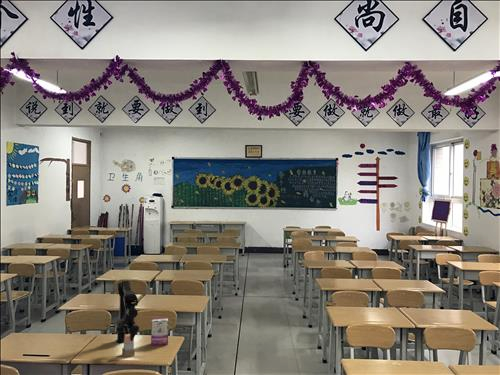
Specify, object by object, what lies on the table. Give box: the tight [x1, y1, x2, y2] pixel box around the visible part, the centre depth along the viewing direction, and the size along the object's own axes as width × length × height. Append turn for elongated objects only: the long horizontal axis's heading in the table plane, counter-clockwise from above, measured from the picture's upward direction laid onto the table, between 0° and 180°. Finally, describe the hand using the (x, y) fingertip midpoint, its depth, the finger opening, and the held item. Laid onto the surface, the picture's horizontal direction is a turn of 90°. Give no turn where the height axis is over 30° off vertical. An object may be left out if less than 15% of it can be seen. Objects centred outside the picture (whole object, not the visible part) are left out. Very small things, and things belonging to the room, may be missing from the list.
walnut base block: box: [121, 347, 136, 358], centre depth 275 cm, size 6×6×4 cm
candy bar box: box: [150, 318, 169, 346], centre depth 295 cm, size 11×5×16 cm, turn 101°
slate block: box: [123, 342, 135, 351], centre depth 275 cm, size 5×5×4 cm
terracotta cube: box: [123, 333, 135, 344], centre depth 275 cm, size 4×4×4 cm
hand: (129, 338), depth 275 cm, fingers open, 9 cm apart
